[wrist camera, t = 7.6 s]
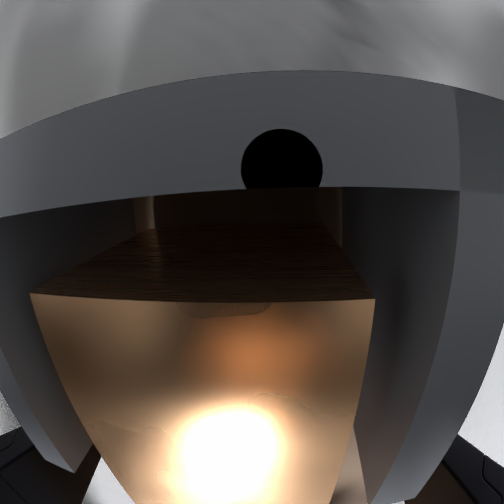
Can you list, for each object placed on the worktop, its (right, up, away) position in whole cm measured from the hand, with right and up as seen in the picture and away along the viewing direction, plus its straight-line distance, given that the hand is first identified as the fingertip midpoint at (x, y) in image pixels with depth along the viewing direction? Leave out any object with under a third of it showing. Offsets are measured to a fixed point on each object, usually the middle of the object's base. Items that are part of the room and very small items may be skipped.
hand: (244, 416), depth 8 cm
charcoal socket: (0, +5, 0) cm, 5 cm away
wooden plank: (0, -4, +2) cm, 4 cm away
